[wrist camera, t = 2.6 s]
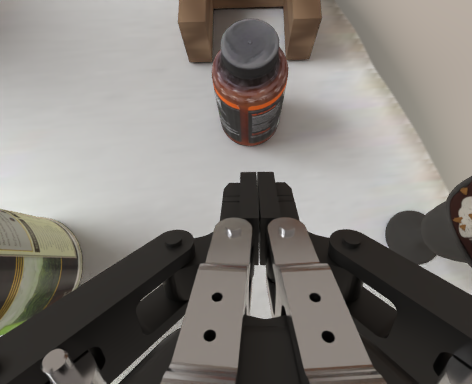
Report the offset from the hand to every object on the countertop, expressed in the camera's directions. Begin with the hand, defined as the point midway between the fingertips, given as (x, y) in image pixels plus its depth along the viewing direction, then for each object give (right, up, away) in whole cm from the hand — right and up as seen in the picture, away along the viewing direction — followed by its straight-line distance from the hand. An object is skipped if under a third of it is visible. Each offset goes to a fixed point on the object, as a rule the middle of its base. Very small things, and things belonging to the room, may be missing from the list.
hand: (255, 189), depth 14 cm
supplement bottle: (+1, +7, +17) cm, 19 cm away
